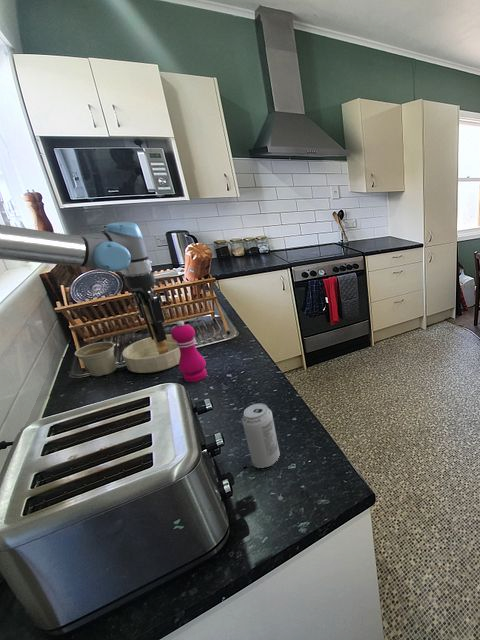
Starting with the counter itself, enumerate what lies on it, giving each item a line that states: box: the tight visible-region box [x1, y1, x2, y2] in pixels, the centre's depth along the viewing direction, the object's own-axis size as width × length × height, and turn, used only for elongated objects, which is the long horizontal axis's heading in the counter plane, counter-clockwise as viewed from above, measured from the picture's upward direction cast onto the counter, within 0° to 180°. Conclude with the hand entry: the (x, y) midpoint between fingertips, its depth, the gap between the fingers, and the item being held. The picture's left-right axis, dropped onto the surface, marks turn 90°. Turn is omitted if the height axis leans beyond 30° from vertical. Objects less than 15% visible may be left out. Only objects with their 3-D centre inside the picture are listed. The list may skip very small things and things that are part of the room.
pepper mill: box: [170, 320, 208, 383], centre depth 108 cm, size 7×7×20 cm
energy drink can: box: [241, 402, 281, 469], centre depth 79 cm, size 6×6×15 cm
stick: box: [142, 302, 169, 355], centre depth 117 cm, size 3×3×20 cm
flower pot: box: [74, 341, 117, 377], centre depth 112 cm, size 9×9×9 cm
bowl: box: [121, 333, 180, 374], centre depth 119 cm, size 17×17×6 cm
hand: (159, 339), depth 118 cm, fingers closed on stick, 3 cm apart
